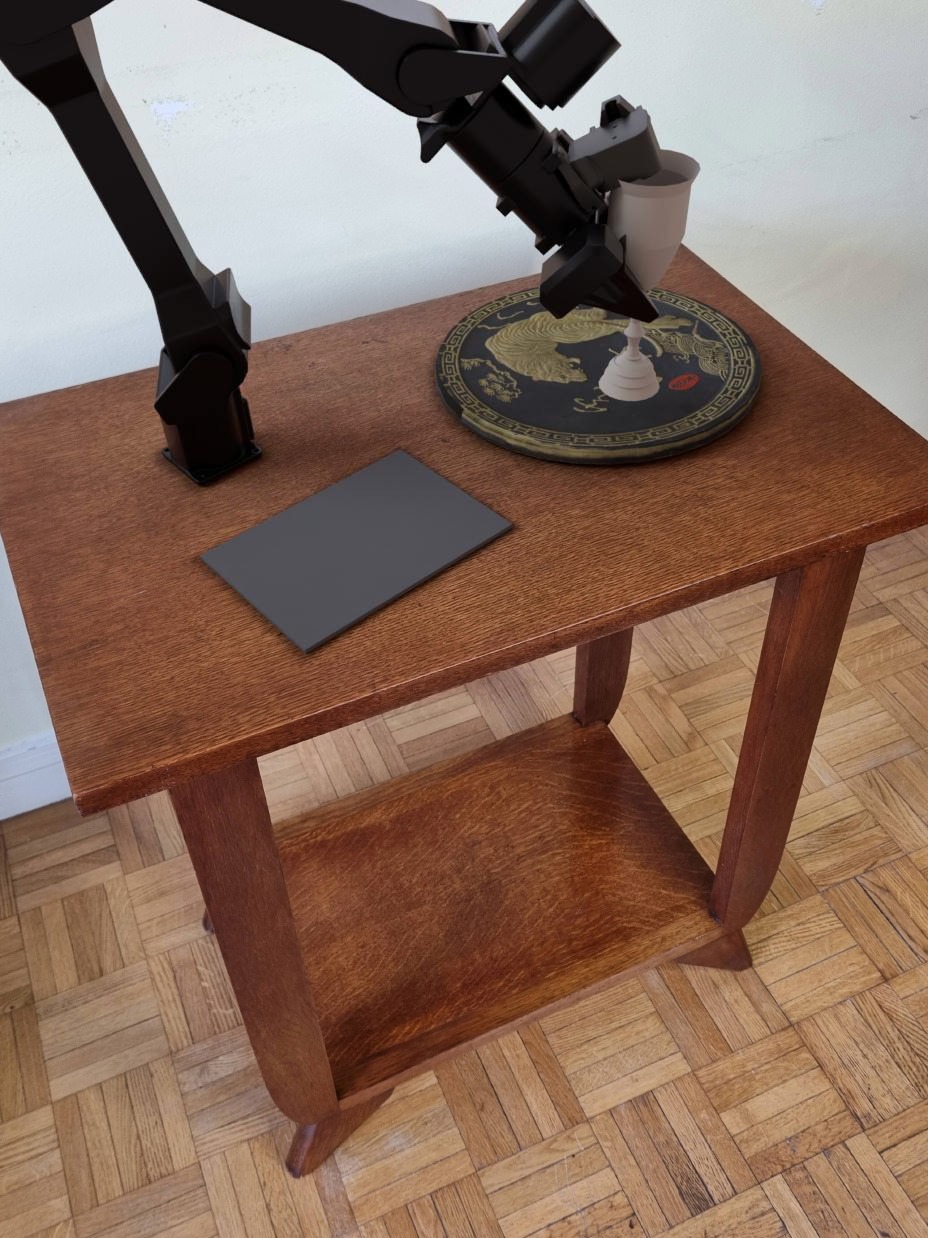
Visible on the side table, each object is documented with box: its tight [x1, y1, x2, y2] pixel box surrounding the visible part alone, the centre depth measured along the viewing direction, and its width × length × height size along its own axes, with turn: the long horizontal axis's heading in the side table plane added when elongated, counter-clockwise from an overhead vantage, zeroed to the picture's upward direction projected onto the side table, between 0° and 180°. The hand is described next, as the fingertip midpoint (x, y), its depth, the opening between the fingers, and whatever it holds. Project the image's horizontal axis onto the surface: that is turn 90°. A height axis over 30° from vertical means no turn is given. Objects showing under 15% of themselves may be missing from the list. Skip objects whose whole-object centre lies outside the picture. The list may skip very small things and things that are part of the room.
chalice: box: [599, 148, 701, 401], centre depth 85 cm, size 7×7×18 cm
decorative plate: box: [434, 286, 763, 466], centre depth 101 cm, size 30×2×30 cm
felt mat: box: [199, 448, 513, 654], centre depth 85 cm, size 20×14×1 cm
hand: (654, 301), depth 86 cm, fingers closed on chalice, 5 cm apart
